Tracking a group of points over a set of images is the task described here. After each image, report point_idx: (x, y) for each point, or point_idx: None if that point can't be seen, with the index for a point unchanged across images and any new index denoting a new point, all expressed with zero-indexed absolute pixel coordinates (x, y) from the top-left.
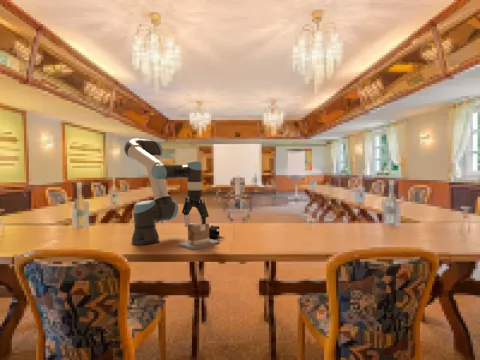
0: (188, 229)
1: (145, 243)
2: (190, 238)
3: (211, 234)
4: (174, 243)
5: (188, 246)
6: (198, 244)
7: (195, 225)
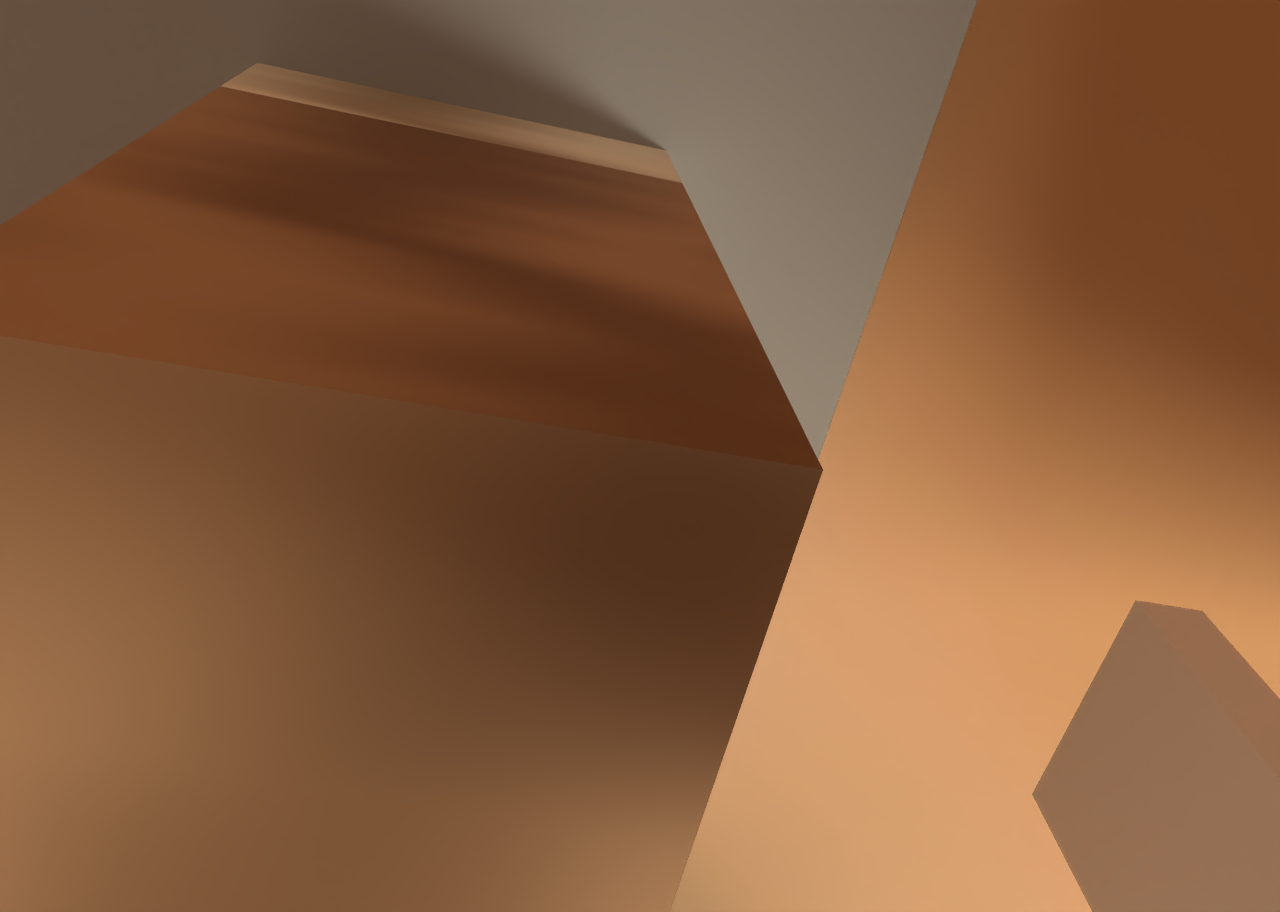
0: (691, 322)
1: None
2: (523, 166)
3: None
4: (1237, 119)
5: None
6: None
7: (56, 536)
